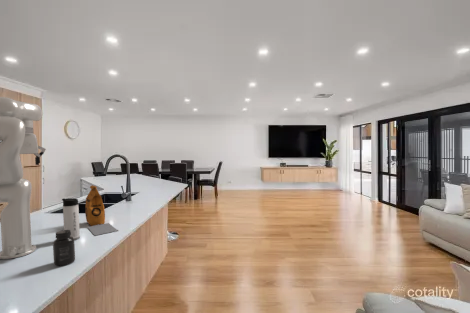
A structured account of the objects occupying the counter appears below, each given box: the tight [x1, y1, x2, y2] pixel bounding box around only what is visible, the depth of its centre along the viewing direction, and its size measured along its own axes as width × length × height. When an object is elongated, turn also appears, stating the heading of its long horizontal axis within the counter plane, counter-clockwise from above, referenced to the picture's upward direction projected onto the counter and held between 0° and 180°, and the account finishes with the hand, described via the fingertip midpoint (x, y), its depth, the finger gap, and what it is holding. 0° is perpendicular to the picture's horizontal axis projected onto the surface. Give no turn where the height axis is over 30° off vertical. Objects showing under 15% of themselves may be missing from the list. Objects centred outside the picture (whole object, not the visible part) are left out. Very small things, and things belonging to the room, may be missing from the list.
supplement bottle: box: [52, 229, 76, 267], centre depth 98 cm, size 7×7×12 cm
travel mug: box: [61, 197, 81, 241], centre depth 124 cm, size 6×7×20 cm
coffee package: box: [84, 184, 106, 226], centre depth 151 cm, size 10×12×22 cm
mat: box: [87, 222, 119, 237], centre depth 139 cm, size 19×11×1 cm, turn 40°
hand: (25, 165), depth 130 cm, fingers open, 9 cm apart
